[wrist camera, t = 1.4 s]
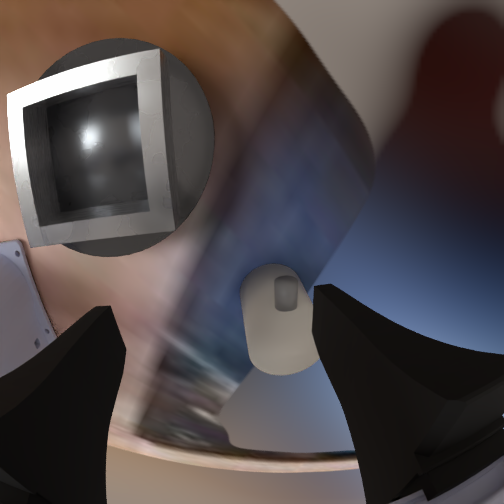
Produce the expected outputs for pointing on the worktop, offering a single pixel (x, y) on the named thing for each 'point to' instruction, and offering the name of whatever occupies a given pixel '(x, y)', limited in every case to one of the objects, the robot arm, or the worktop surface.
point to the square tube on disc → (110, 148)
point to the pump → (277, 320)
